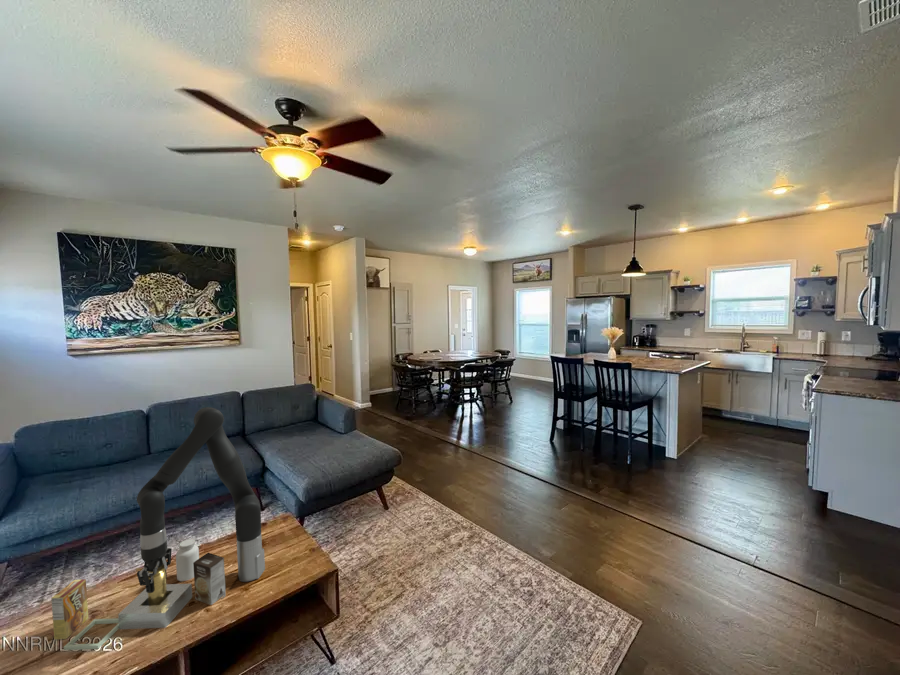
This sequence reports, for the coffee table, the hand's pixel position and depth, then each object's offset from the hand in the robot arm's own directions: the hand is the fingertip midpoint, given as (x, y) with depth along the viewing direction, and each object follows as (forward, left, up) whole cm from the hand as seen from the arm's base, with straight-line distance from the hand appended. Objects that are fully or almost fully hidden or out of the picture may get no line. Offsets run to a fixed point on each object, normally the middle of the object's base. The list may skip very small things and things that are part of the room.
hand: (157, 585), depth 136 cm
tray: (+14, +9, -11) cm, 20 cm away
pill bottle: (+2, -20, -11) cm, 23 cm away
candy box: (+26, +5, -11) cm, 29 cm away
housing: (0, 0, -11) cm, 11 cm away
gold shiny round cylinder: (0, 0, -7) cm, 7 cm away
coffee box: (-15, -7, -11) cm, 20 cm away
